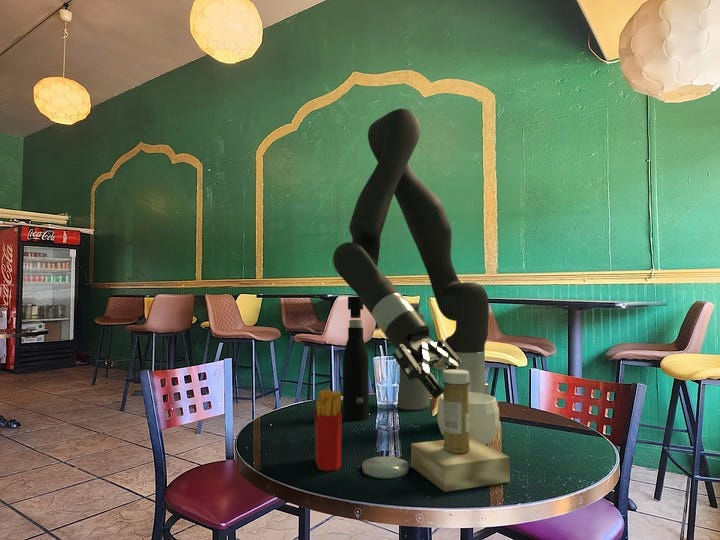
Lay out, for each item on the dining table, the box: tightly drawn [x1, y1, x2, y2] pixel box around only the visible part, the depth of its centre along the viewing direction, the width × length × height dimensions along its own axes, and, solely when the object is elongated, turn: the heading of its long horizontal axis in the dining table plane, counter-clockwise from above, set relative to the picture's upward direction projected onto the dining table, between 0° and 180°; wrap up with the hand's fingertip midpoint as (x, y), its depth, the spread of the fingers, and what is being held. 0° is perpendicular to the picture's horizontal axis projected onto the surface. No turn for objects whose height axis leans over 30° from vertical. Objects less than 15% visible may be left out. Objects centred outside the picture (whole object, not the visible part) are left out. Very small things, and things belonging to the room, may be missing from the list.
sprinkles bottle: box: [441, 369, 470, 453], centre depth 85 cm, size 5×5×13 cm
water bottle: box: [396, 302, 431, 411], centre depth 135 cm, size 10×10×28 cm
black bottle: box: [342, 296, 370, 422], centre depth 123 cm, size 6×6×30 cm
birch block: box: [410, 437, 511, 493], centre depth 84 cm, size 12×12×4 cm
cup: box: [436, 392, 500, 445], centre depth 100 cm, size 12×12×10 cm
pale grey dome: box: [361, 456, 409, 479], centre depth 86 cm, size 8×8×1 cm
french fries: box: [314, 389, 343, 472], centre depth 89 cm, size 9×4×13 cm, turn 13°
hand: (453, 390), depth 86 cm, fingers open, 8 cm apart
